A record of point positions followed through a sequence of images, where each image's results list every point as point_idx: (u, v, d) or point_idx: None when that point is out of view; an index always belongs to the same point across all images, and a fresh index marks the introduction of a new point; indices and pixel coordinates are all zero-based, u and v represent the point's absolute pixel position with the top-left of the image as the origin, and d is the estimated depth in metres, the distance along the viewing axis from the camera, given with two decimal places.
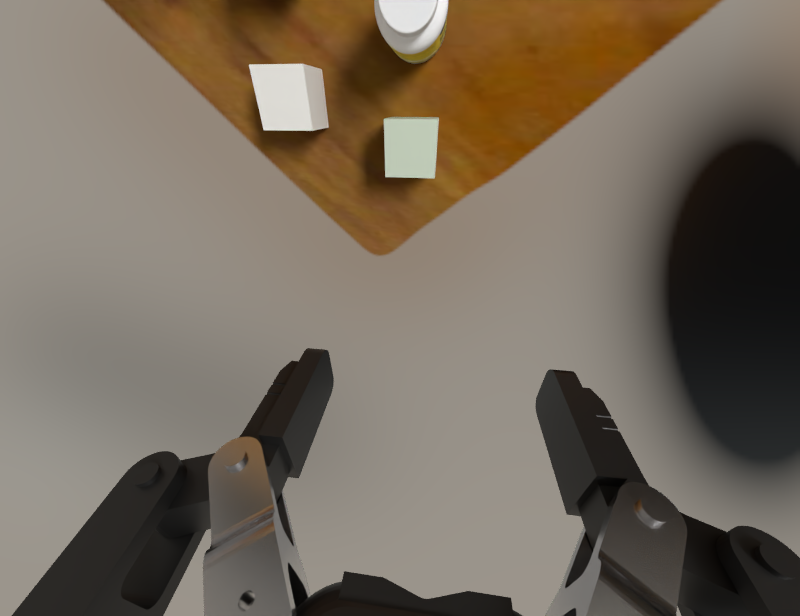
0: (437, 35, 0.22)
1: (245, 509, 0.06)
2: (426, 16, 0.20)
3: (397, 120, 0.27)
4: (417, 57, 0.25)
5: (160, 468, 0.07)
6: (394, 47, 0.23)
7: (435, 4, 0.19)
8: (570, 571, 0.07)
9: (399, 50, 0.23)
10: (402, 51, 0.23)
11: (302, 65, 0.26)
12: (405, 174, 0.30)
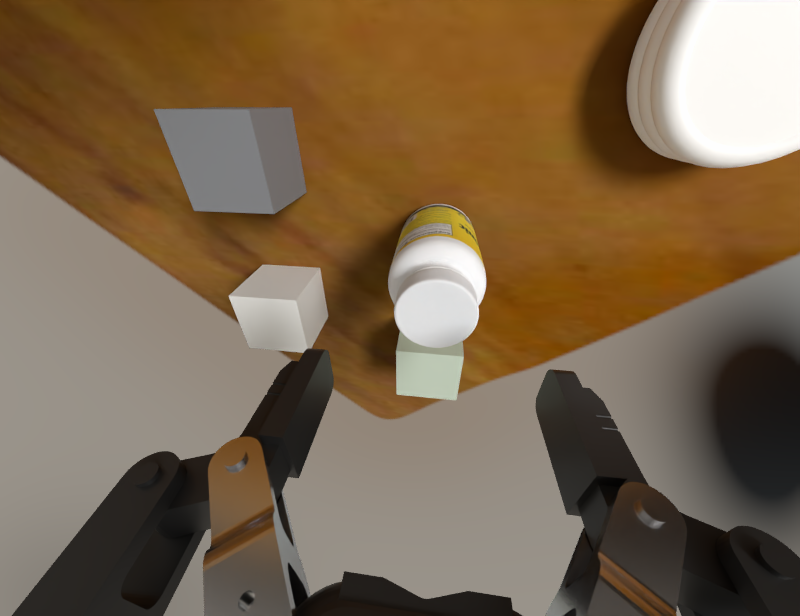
0: None
1: (245, 509, 0.06)
2: (460, 338, 0.14)
3: (412, 353, 0.22)
4: None
5: (160, 468, 0.07)
6: None
7: (473, 328, 0.14)
8: (570, 571, 0.07)
9: None
10: None
11: (295, 301, 0.21)
12: (421, 394, 0.25)
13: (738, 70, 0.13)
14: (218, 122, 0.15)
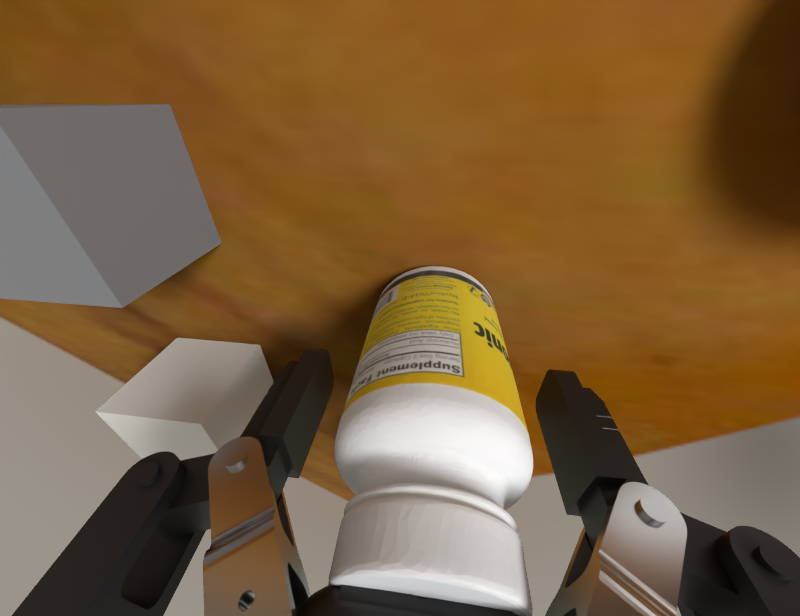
0: None
1: (245, 509, 0.06)
2: None
3: None
4: None
5: (160, 468, 0.07)
6: None
7: None
8: (570, 571, 0.07)
9: None
10: None
11: (200, 425, 0.12)
12: None
13: None
14: None
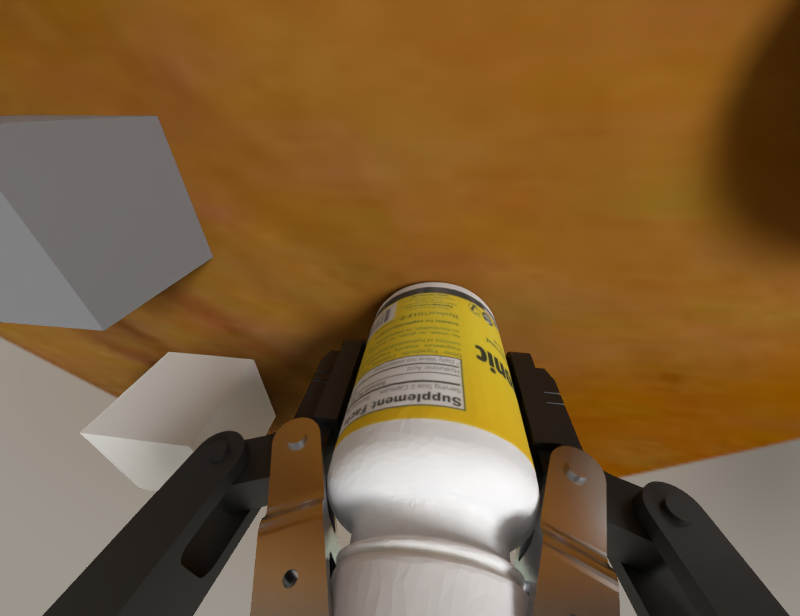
0: None
1: (299, 488, 0.07)
2: None
3: None
4: None
5: (227, 446, 0.07)
6: None
7: None
8: None
9: None
10: None
11: (189, 447, 0.12)
12: None
13: None
14: None
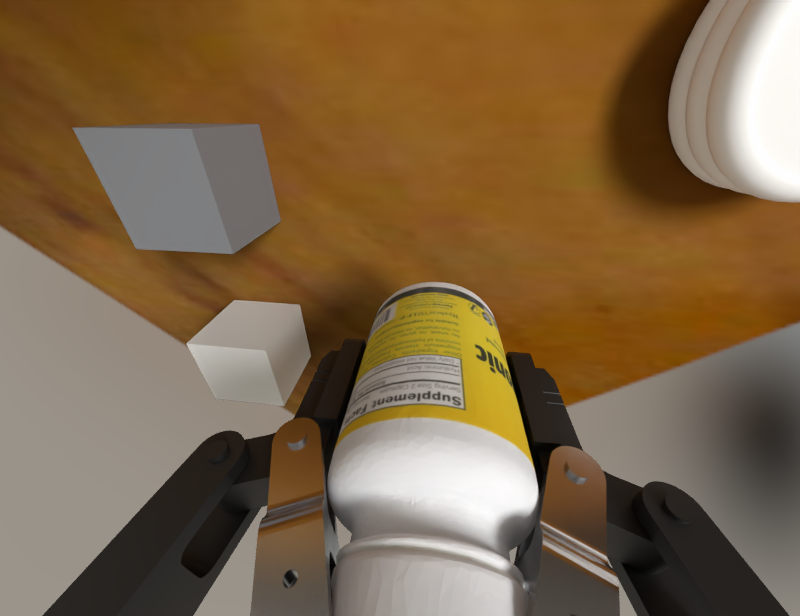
0: None
1: (299, 488, 0.07)
2: None
3: None
4: None
5: (227, 446, 0.07)
6: None
7: None
8: None
9: None
10: None
11: (265, 351, 0.17)
12: None
13: None
14: (154, 144, 0.11)
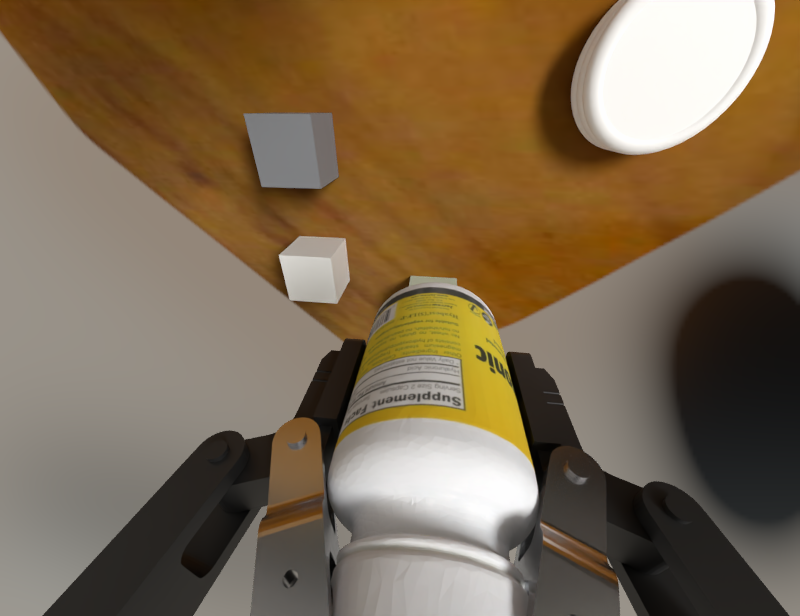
0: None
1: (299, 488, 0.07)
2: None
3: None
4: None
5: (227, 446, 0.07)
6: None
7: None
8: None
9: None
10: None
11: (330, 259, 0.27)
12: None
13: (635, 89, 0.19)
14: (287, 122, 0.21)
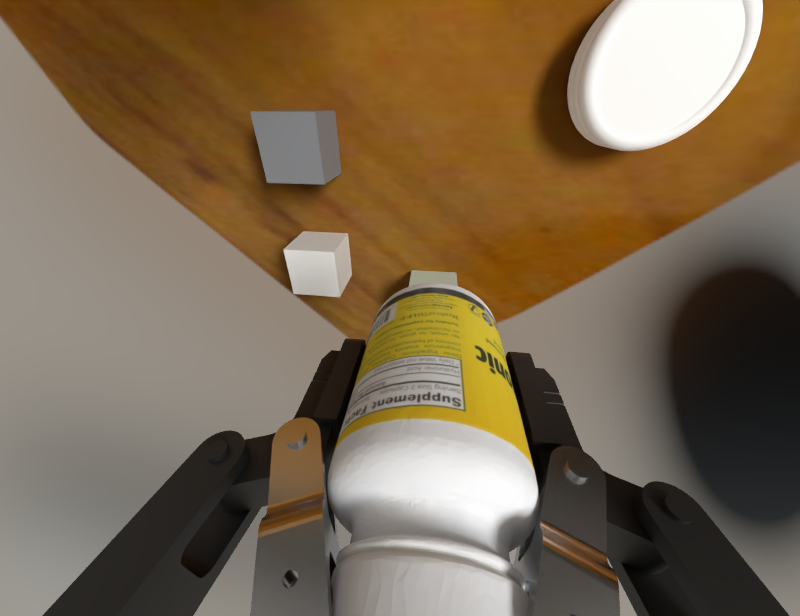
0: None
1: (299, 488, 0.07)
2: None
3: None
4: None
5: (227, 446, 0.07)
6: None
7: None
8: None
9: None
10: None
11: (333, 253, 0.28)
12: None
13: (629, 87, 0.20)
14: (292, 120, 0.22)
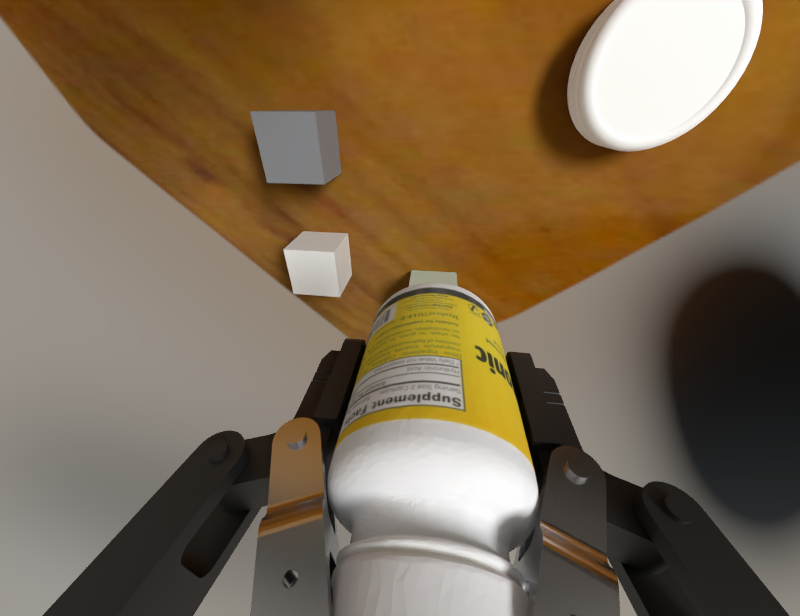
0: None
1: (299, 488, 0.07)
2: None
3: None
4: None
5: (227, 446, 0.07)
6: None
7: None
8: None
9: None
10: None
11: (333, 253, 0.28)
12: None
13: (628, 87, 0.20)
14: (292, 120, 0.22)
